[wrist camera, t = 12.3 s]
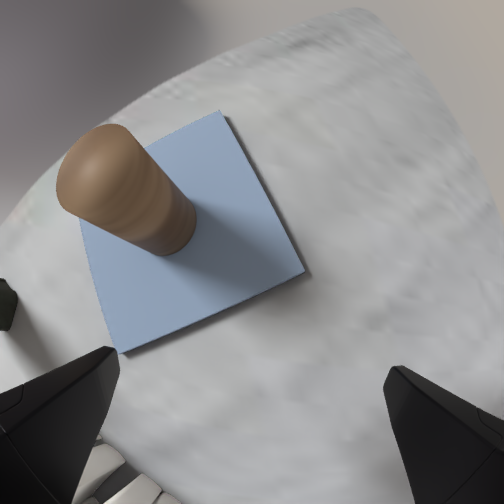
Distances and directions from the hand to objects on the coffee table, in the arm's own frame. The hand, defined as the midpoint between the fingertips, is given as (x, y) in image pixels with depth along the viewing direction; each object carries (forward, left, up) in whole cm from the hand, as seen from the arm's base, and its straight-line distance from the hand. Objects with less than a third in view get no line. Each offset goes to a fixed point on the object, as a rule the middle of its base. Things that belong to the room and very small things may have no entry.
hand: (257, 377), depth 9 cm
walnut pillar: (+12, +3, -12) cm, 17 cm away
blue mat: (+12, +3, -12) cm, 18 cm away
